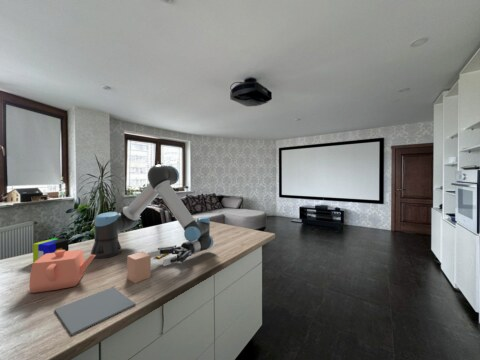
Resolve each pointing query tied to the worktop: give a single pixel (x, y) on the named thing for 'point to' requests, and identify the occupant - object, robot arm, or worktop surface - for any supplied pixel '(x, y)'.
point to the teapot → (58, 270)
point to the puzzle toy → (49, 247)
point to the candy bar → (161, 255)
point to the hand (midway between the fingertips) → (155, 259)
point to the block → (138, 266)
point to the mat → (92, 309)
